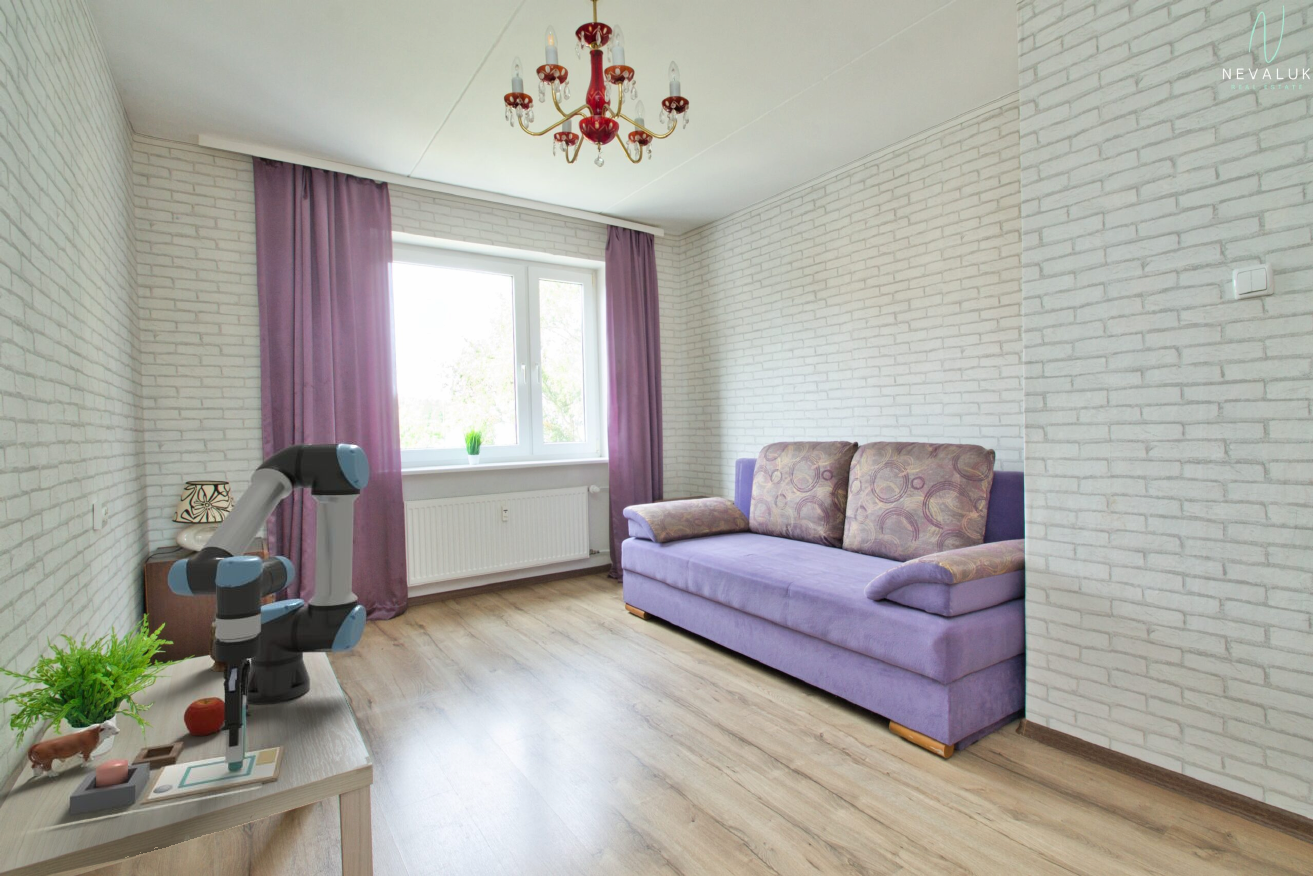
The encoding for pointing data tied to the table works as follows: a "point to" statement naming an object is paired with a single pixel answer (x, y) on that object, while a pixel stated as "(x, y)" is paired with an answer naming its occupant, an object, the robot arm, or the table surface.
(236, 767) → the marker
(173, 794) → the colouring sheet
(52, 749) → the bull figurine
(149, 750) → the marker holder
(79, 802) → the button housing
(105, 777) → the button
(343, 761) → the table surface
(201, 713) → the apple
